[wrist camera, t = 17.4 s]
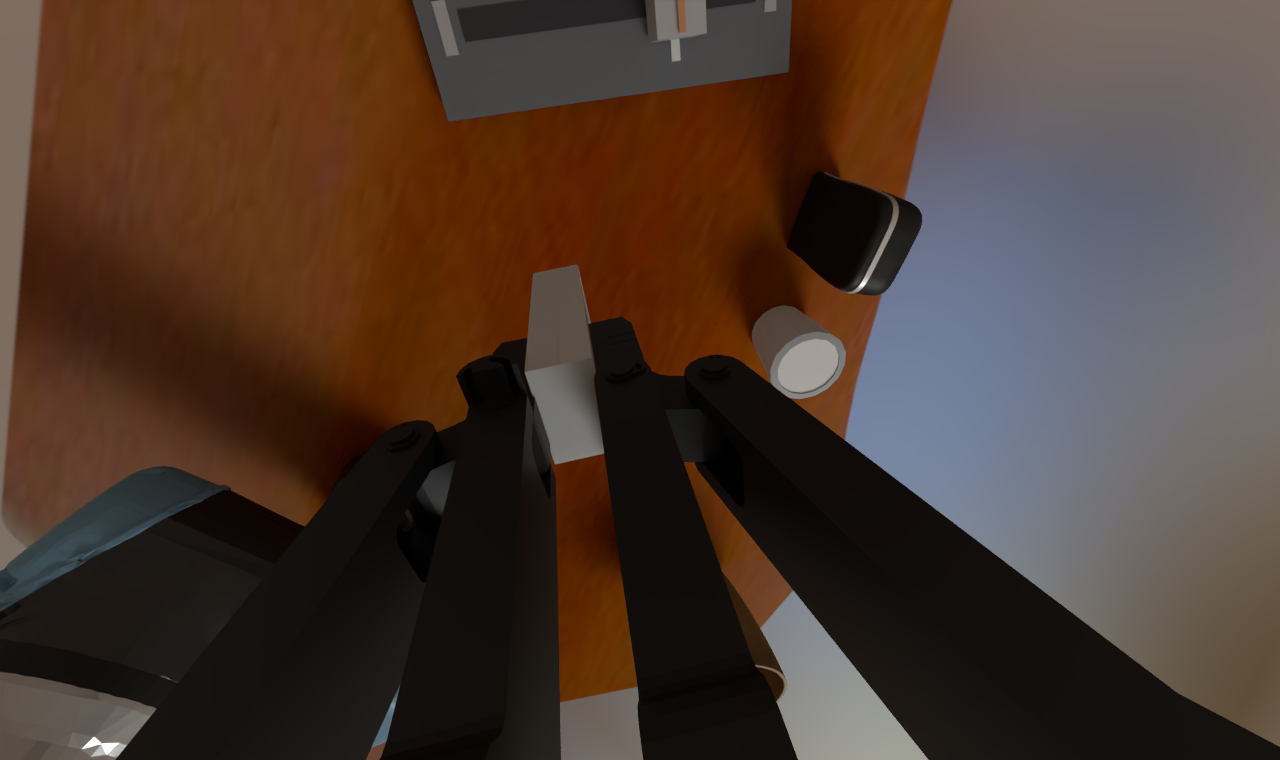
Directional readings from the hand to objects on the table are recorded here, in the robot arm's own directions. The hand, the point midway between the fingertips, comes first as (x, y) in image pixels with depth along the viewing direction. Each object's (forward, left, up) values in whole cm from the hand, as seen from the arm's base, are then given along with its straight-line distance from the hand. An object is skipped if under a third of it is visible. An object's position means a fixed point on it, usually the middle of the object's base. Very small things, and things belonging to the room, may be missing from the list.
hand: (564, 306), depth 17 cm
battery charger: (+21, -6, -25) cm, 33 cm away
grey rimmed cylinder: (+18, -17, -25) cm, 36 cm away
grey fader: (+9, +10, -23) cm, 26 cm away
